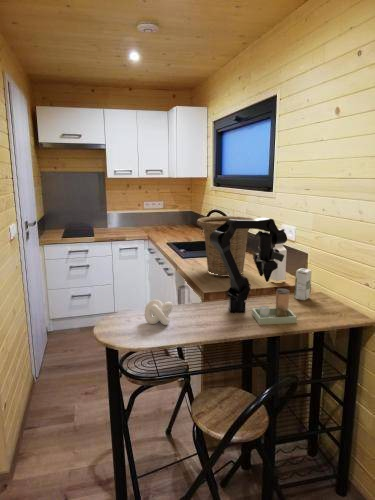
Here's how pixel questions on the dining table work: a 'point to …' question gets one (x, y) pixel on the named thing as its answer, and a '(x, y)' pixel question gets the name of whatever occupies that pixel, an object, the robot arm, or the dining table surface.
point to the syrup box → (302, 284)
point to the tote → (273, 317)
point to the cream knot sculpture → (158, 312)
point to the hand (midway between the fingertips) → (264, 278)
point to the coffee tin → (282, 302)
